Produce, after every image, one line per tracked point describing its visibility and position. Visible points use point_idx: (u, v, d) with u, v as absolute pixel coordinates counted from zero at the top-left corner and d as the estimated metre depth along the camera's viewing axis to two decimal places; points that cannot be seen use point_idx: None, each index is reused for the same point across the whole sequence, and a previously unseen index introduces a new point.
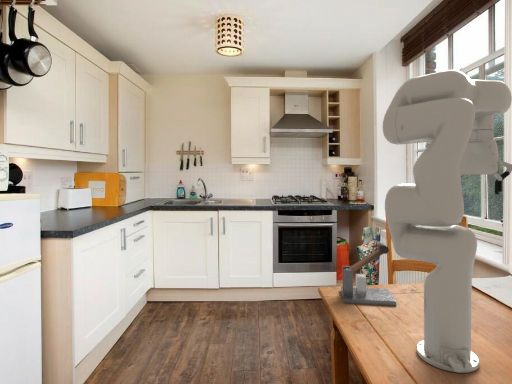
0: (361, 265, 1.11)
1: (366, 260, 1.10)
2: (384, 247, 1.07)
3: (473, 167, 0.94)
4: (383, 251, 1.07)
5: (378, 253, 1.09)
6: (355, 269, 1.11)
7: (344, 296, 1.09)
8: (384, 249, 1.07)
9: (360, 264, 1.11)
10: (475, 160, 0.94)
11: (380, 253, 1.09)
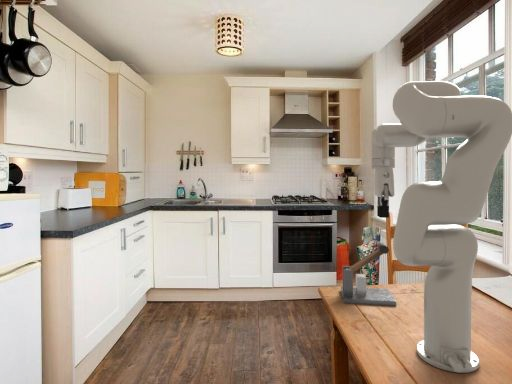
0: (361, 265, 1.11)
1: (366, 260, 1.10)
2: (384, 247, 1.07)
3: None
4: (383, 251, 1.07)
5: (378, 253, 1.09)
6: (355, 269, 1.11)
7: (344, 296, 1.09)
8: (384, 249, 1.07)
9: (360, 264, 1.11)
10: None
11: (380, 253, 1.09)
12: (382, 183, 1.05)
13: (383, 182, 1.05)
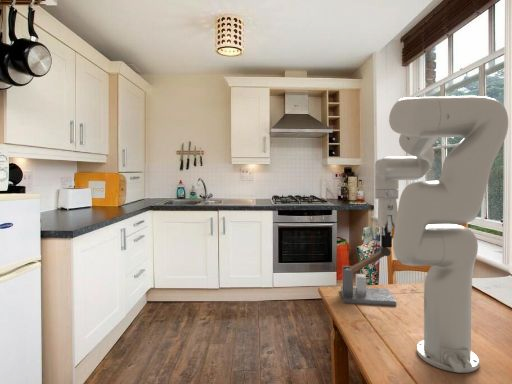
0: (362, 266, 1.11)
1: (367, 261, 1.10)
2: (386, 249, 1.07)
3: None
4: (385, 253, 1.07)
5: (379, 255, 1.09)
6: (355, 269, 1.11)
7: (344, 296, 1.09)
8: (386, 251, 1.07)
9: (361, 265, 1.11)
10: None
11: (381, 255, 1.09)
12: (386, 215, 1.05)
13: (387, 214, 1.05)
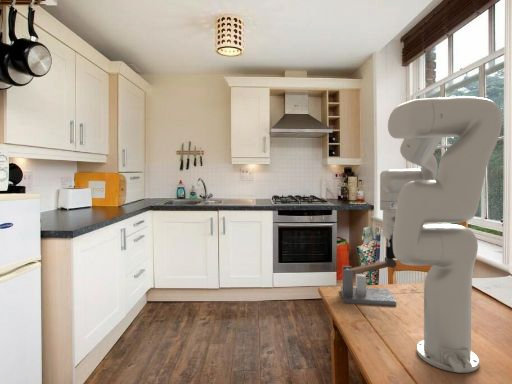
0: (363, 270, 1.11)
1: (370, 267, 1.10)
2: (392, 261, 1.07)
3: None
4: (390, 264, 1.07)
5: (384, 265, 1.09)
6: (356, 272, 1.11)
7: (344, 296, 1.09)
8: (392, 263, 1.07)
9: (363, 269, 1.11)
10: None
11: (386, 265, 1.09)
12: (391, 227, 1.05)
13: (392, 226, 1.05)
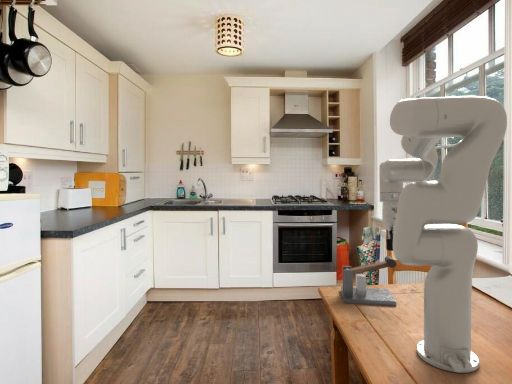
0: (363, 270, 1.11)
1: (370, 267, 1.10)
2: (392, 261, 1.07)
3: None
4: (390, 264, 1.07)
5: (384, 265, 1.09)
6: (356, 272, 1.11)
7: (344, 296, 1.09)
8: (392, 263, 1.07)
9: (363, 269, 1.11)
10: None
11: (386, 265, 1.09)
12: (391, 218, 1.04)
13: (392, 217, 1.04)
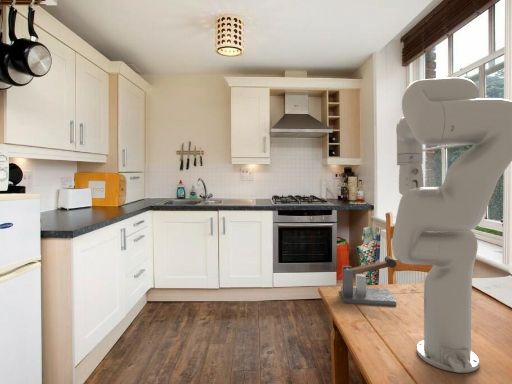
0: (363, 270, 1.11)
1: (370, 267, 1.10)
2: (392, 261, 1.07)
3: None
4: (390, 264, 1.07)
5: (384, 265, 1.09)
6: (356, 272, 1.11)
7: (344, 296, 1.09)
8: (392, 263, 1.07)
9: (363, 269, 1.11)
10: None
11: (386, 265, 1.09)
12: (410, 180, 0.97)
13: (412, 179, 0.97)
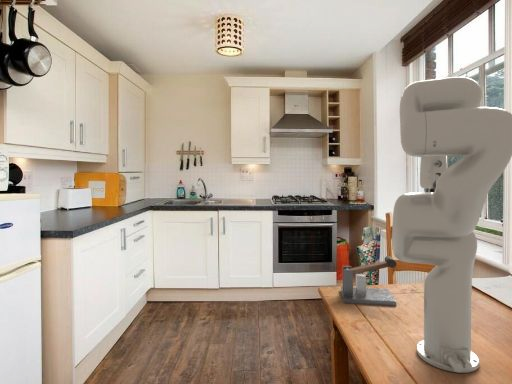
0: (363, 270, 1.11)
1: (370, 267, 1.10)
2: (392, 261, 1.07)
3: None
4: (390, 264, 1.07)
5: (384, 265, 1.09)
6: (356, 272, 1.11)
7: (344, 296, 1.09)
8: (392, 263, 1.07)
9: (363, 269, 1.11)
10: None
11: (386, 265, 1.09)
12: (433, 173, 0.92)
13: (435, 172, 0.92)
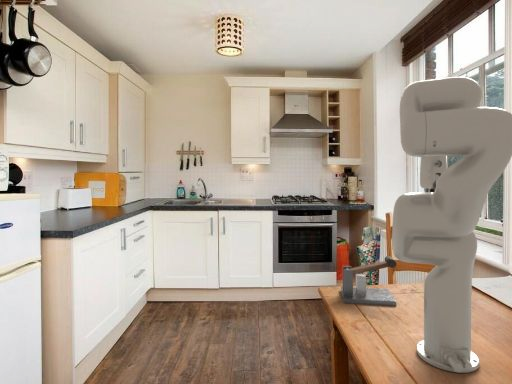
0: (363, 270, 1.11)
1: (370, 267, 1.10)
2: (392, 261, 1.07)
3: None
4: (390, 264, 1.07)
5: (384, 265, 1.09)
6: (356, 272, 1.11)
7: (344, 296, 1.09)
8: (392, 263, 1.07)
9: (363, 269, 1.11)
10: None
11: (386, 265, 1.09)
12: (433, 173, 0.92)
13: (435, 172, 0.92)
